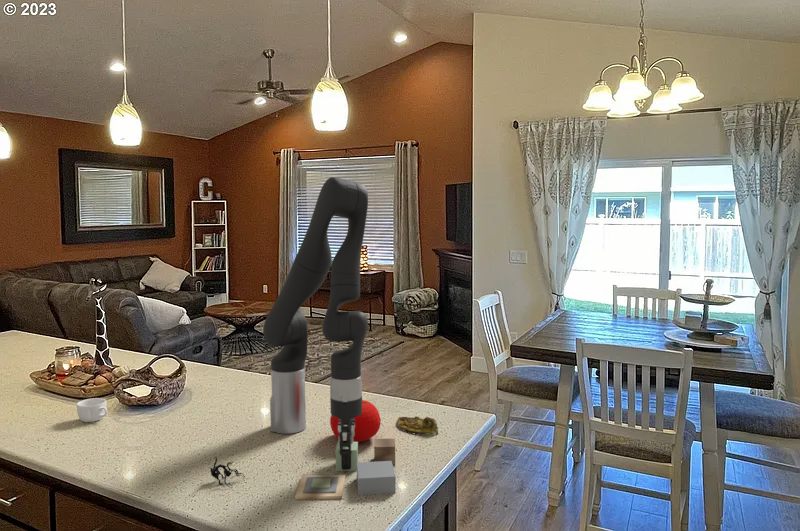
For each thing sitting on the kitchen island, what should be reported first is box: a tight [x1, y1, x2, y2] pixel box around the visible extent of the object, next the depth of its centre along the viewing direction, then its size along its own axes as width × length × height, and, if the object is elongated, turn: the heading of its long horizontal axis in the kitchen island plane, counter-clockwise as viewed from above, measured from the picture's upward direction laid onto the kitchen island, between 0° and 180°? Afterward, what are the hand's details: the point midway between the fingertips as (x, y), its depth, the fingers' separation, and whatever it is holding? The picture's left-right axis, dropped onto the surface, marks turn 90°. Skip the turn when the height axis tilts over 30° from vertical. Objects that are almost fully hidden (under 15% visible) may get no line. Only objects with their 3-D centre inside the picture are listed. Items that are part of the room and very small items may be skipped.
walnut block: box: [373, 438, 396, 467], centre depth 142 cm, size 5×5×5 cm
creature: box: [209, 456, 246, 489], centre depth 133 cm, size 8×5×8 cm
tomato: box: [329, 399, 382, 443], centre depth 157 cm, size 14×13×10 cm
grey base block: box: [356, 461, 397, 496], centre depth 131 cm, size 8×8×4 cm
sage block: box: [335, 441, 359, 472], centre depth 140 cm, size 5×5×5 cm
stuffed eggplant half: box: [396, 416, 440, 436], centre depth 165 cm, size 9×5×15 cm
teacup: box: [76, 397, 108, 423], centre depth 172 cm, size 10×8×5 cm
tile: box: [294, 474, 346, 500], centre depth 129 cm, size 10×10×1 cm
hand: (347, 463), depth 140 cm, fingers closed on sage block, 5 cm apart
